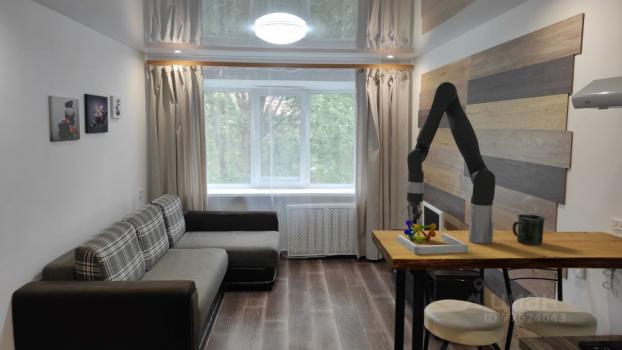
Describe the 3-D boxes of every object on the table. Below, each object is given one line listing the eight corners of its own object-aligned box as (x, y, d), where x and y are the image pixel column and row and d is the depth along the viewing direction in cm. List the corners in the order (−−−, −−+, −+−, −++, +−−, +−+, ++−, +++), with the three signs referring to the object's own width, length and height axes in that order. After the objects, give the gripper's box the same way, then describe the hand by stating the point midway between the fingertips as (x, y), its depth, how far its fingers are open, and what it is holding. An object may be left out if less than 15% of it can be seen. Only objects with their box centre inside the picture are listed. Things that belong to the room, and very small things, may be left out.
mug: (549, 245, 193) (551, 218, 192) (520, 247, 190) (522, 219, 189) (531, 239, 204) (533, 213, 202) (504, 240, 201) (505, 215, 199)
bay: (444, 239, 201) (444, 233, 201) (467, 252, 181) (468, 245, 180) (397, 241, 197) (397, 234, 197) (415, 254, 177) (415, 247, 177)
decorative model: (434, 236, 190) (401, 224, 195) (429, 253, 194) (397, 240, 199) (440, 223, 200) (409, 212, 206) (435, 239, 204) (405, 228, 210)
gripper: (428, 193, 199) (426, 230, 201) (417, 189, 212) (415, 224, 214) (413, 193, 198) (411, 231, 200) (402, 189, 211) (401, 224, 213)
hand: (413, 227), depth 207 cm, fingers closed
